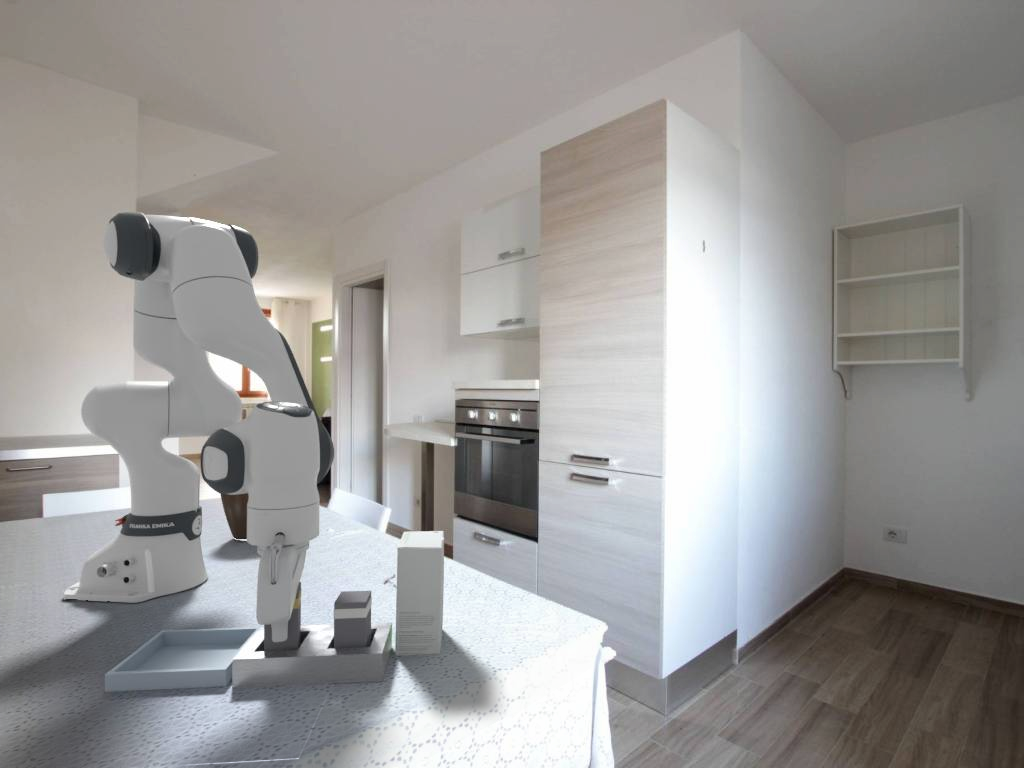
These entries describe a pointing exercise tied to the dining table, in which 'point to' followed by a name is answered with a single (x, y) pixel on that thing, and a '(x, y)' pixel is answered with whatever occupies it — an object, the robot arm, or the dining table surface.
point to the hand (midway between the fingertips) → (282, 630)
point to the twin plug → (352, 619)
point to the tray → (181, 660)
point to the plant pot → (236, 513)
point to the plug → (293, 630)
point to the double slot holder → (313, 660)
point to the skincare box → (419, 593)
